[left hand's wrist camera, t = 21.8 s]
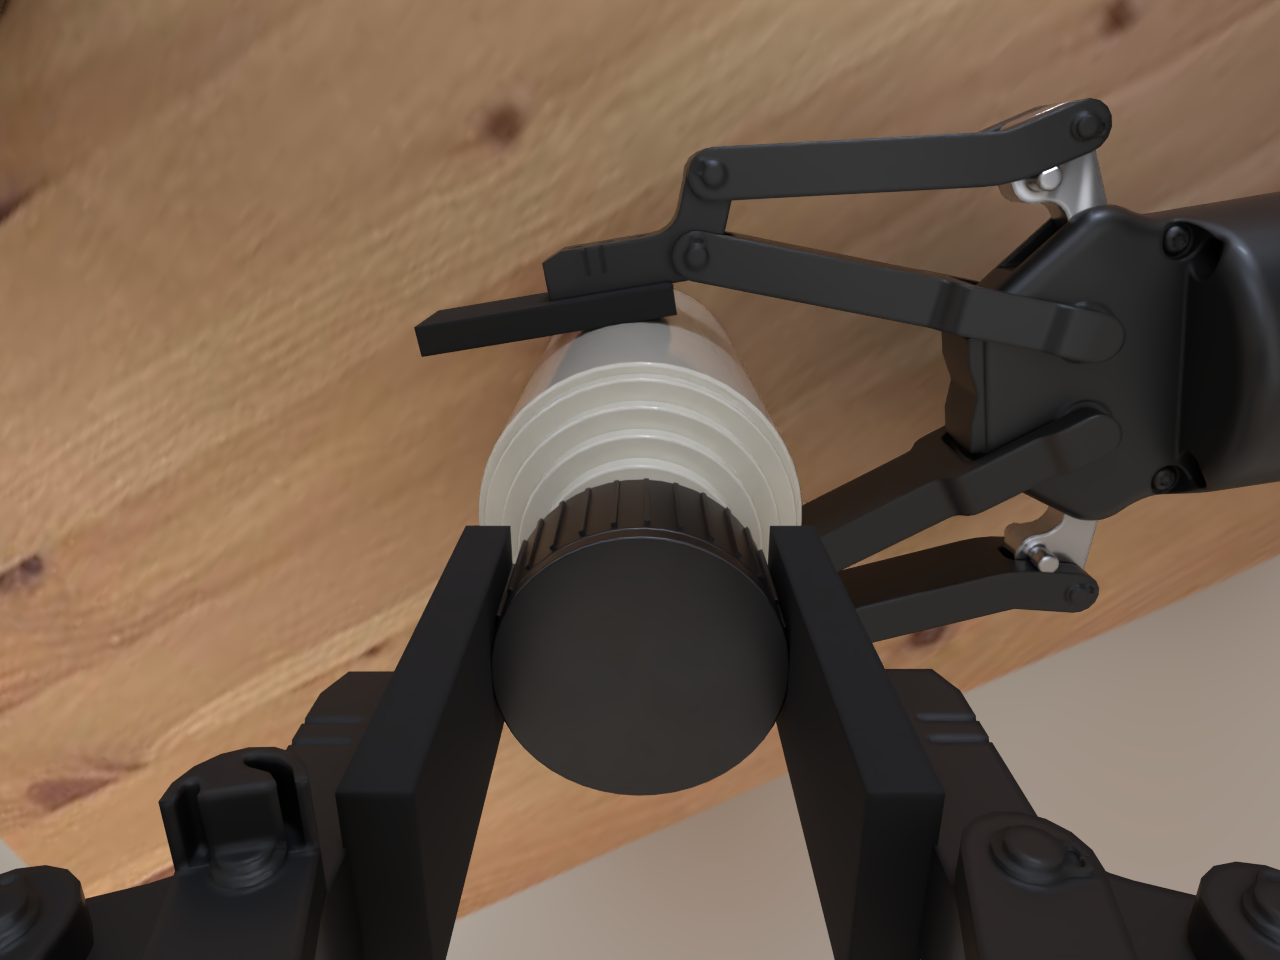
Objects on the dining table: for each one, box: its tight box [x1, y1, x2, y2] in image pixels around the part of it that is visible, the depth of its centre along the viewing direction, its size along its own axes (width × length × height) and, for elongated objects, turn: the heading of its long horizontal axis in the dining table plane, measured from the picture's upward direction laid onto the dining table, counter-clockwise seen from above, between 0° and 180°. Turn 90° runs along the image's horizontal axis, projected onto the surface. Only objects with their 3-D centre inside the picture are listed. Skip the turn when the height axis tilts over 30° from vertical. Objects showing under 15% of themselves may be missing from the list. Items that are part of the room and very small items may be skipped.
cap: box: [491, 478, 790, 795], centre depth 13 cm, size 4×4×2 cm
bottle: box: [478, 289, 802, 565], centre depth 21 cm, size 7×7×18 cm
